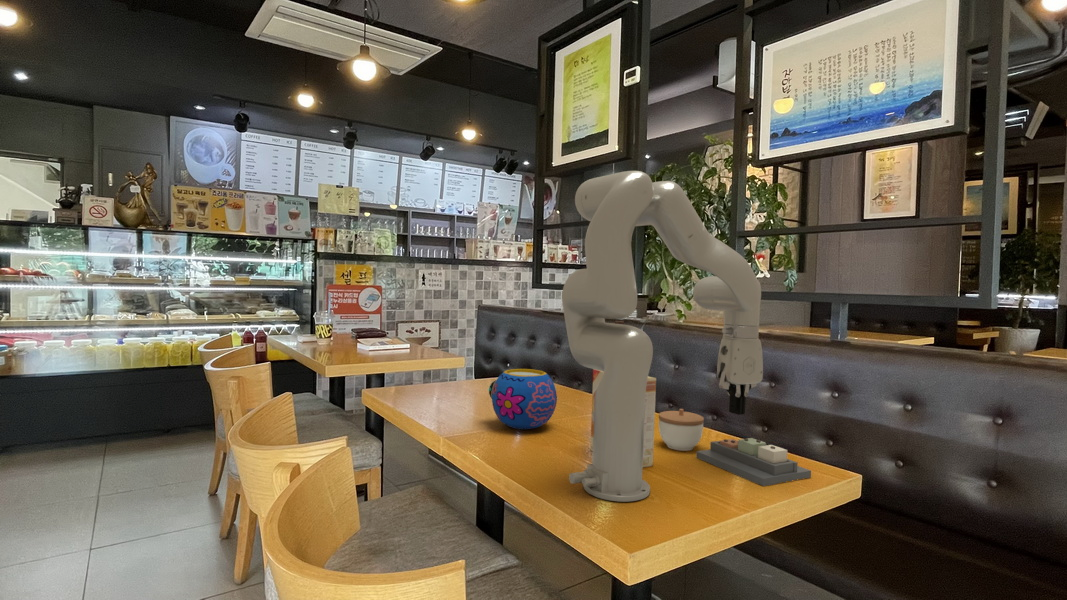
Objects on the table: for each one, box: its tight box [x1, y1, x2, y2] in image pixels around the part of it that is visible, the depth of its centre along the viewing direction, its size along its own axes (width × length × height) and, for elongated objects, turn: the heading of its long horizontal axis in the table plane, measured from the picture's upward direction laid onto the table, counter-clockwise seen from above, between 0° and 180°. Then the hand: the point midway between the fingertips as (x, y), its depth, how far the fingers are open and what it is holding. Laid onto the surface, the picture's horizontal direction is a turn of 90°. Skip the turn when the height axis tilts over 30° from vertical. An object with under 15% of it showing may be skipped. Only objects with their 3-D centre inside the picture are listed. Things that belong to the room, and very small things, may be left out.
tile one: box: [758, 444, 788, 464], centre depth 117 cm, size 4×4×3 cm
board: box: [696, 440, 812, 487], centre depth 122 cm, size 14×19×4 cm
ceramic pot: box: [488, 368, 558, 430], centre depth 148 cm, size 18×18×15 cm
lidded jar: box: [658, 408, 705, 452], centre depth 135 cm, size 11×11×9 cm
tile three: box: [719, 438, 739, 449], centre depth 126 cm, size 4×4×3 cm
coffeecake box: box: [589, 369, 657, 468], centre depth 125 cm, size 15×7×20 cm, turn 27°
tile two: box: [738, 437, 767, 456], centre depth 121 cm, size 4×4×3 cm
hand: (736, 413), depth 125 cm, fingers closed
